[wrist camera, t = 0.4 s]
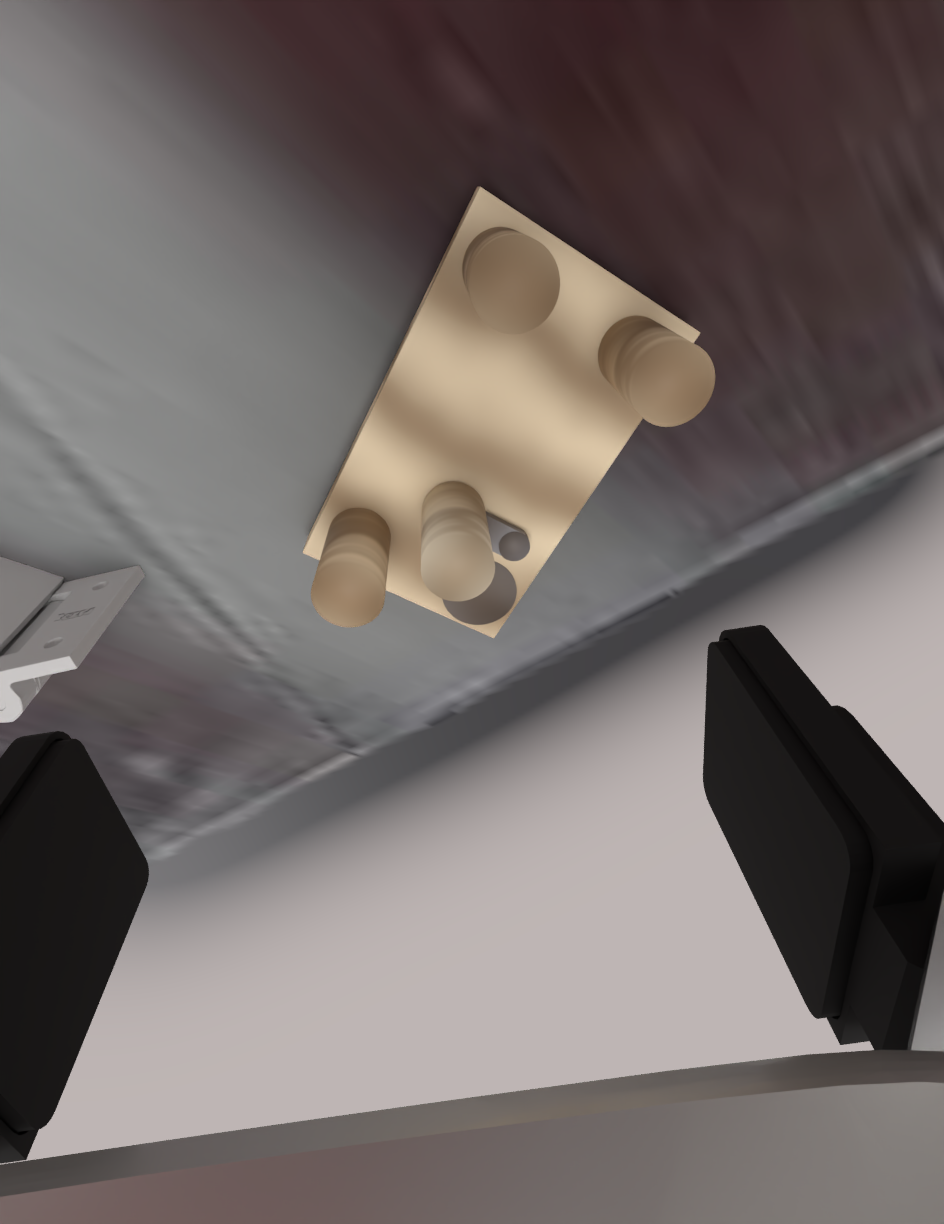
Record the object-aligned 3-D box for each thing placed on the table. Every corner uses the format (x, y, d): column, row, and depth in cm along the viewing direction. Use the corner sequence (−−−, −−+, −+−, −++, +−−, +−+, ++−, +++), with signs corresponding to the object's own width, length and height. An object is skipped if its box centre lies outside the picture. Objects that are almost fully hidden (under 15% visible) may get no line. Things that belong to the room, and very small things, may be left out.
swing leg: (542, 523, 41) (562, 581, 34) (510, 571, 42) (524, 636, 36) (440, 470, 39) (442, 522, 32) (410, 523, 40) (407, 583, 34)
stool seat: (476, 186, 34) (492, 185, 26) (685, 324, 38) (755, 361, 30) (308, 534, 43) (281, 614, 35) (490, 617, 47) (504, 707, 39)
